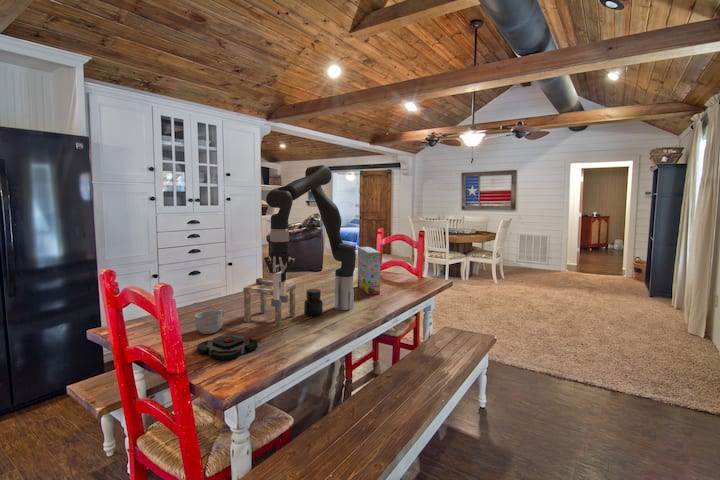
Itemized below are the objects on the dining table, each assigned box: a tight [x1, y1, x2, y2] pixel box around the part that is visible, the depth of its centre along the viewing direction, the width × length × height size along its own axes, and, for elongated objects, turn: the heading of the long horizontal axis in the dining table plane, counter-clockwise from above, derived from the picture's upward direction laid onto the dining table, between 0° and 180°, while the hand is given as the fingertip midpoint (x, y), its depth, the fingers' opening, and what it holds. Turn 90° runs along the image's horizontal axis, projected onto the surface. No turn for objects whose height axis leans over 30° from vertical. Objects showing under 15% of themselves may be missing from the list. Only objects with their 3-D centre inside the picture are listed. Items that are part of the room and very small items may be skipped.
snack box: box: [357, 246, 382, 295], centre depth 235 cm, size 22×9×26 cm, turn 17°
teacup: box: [194, 309, 225, 335], centre depth 162 cm, size 14×11×8 cm
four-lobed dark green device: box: [196, 333, 259, 361], centre depth 143 cm, size 18×18×5 cm
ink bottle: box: [303, 288, 324, 318], centre depth 186 cm, size 10×9×12 cm
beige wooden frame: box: [242, 277, 297, 327], centre depth 178 cm, size 18×16×19 cm
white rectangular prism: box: [270, 270, 289, 308], centre depth 158 cm, size 8×4×13 cm, turn 163°
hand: (279, 281), depth 158 cm, fingers closed on white rectangular prism, 2 cm apart
